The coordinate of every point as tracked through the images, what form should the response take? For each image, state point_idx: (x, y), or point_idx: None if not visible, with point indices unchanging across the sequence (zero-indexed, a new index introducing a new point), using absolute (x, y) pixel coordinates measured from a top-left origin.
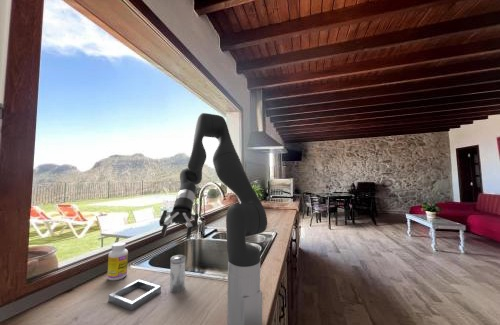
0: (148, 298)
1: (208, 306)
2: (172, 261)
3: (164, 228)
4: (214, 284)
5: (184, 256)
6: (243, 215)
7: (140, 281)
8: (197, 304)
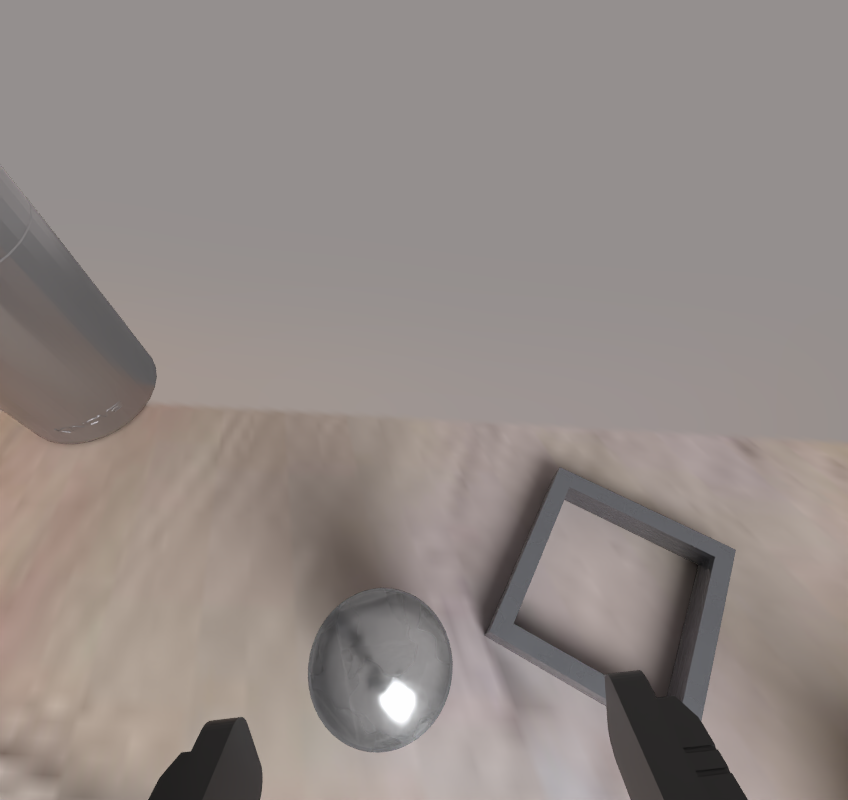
0: (519, 557)
1: (213, 489)
2: (418, 600)
3: (684, 766)
4: (144, 721)
5: (320, 690)
6: None
7: None
8: (263, 506)
